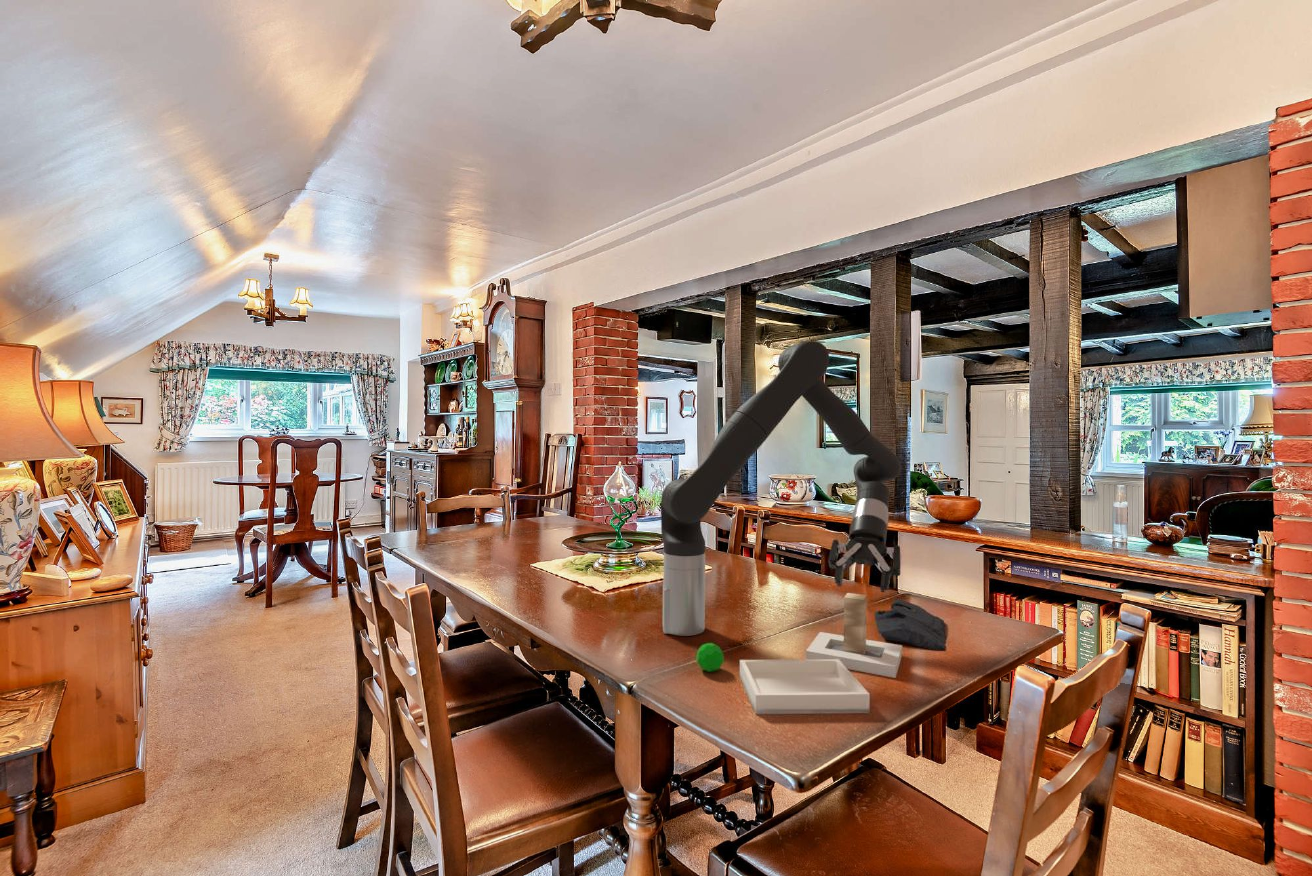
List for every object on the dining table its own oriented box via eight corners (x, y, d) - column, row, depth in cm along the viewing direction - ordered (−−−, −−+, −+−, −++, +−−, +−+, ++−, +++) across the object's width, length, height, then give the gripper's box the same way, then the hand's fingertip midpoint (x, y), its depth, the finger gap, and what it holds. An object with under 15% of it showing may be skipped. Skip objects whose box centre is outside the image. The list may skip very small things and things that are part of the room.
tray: (755, 714, 91) (755, 695, 91) (739, 676, 105) (739, 659, 105) (869, 713, 92) (869, 694, 92) (838, 675, 106) (838, 659, 106)
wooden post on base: (828, 658, 114) (829, 595, 114) (833, 650, 118) (834, 590, 118) (877, 667, 110) (878, 602, 110) (880, 659, 114) (881, 596, 114)
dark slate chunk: (867, 643, 124) (868, 620, 124) (875, 613, 144) (875, 594, 144) (948, 655, 117) (949, 631, 117) (945, 622, 137) (945, 602, 137)
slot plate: (806, 661, 113) (806, 650, 113) (819, 641, 123) (820, 631, 123) (895, 678, 105) (895, 667, 105) (902, 655, 116) (902, 645, 116)
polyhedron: (690, 669, 108) (691, 644, 108) (708, 662, 112) (708, 637, 112) (711, 678, 105) (711, 651, 105) (728, 670, 108) (729, 644, 108)
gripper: (834, 511, 131) (822, 573, 121) (903, 515, 124) (896, 582, 114) (838, 531, 136) (827, 592, 126) (905, 536, 129) (899, 602, 119)
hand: (860, 587), depth 120 cm, fingers open, 8 cm apart
